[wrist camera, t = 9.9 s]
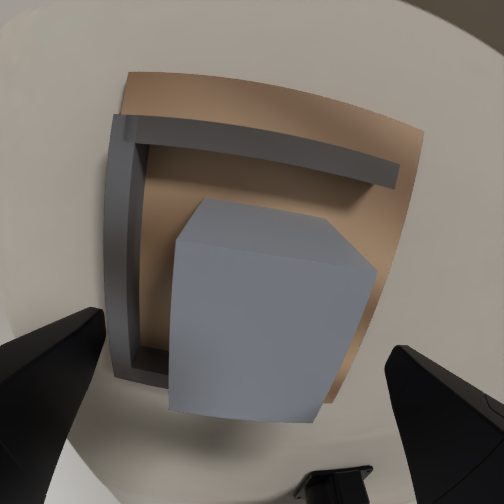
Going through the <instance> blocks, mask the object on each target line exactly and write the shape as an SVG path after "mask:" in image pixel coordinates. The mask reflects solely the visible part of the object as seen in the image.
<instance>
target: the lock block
mask: <svg viewBox="0 0 504 504" xmlns="http://www.w3.org/2000/svg"><path fill="white" fill-rule="evenodd" d="M377 274H378V271H377V270H376V269H375V268H374V267H373V266H372V265H371V264H370V263H369V262H368V261H367V260H366V259H365V258H364V257H363V256H362V255H361V254H360V253H359V251H358V250H357V249H356V248H355V247H354V246H353V245H352V244H351V243H350V242H349V241H348V240H346V239H345V238H344V237H343V236H342V235H341V234H340V233H339V232H338V231H337V230H336V229H335V228H334V227H333V226H332V225H331V224H330V223H329V222H328V221H327V220H326V219H325V218H322V217H317V216H312V215H307V214H301V213H296V212H290V211H285V210H279V209H274V208H268V207H262V206H257V205H251V204H245V203H239V202H232V201H226V200H220V199H213V198H207V197H204V199H203V200H202V202H201V203H200V205H199V206H198V208H197V209H196V211H195V212H194V214H193V215H192V217H191V218H190V220H189V221H188V223H187V224H186V226H185V227H184V229H183V230H182V232H181V233H180V235H179V236H178V238H177V239H176V246H175V257H174V269H173V282H172V297H171V315H170V339H169V410H173V411H178V412H184V413H190V414H197V415H204V416H211V417H219V418H228V419H238V420H249V421H263V422H284V423H313V421H314V419H315V417H316V415H317V414H318V412H319V410H320V408H321V406H322V404H323V402H324V400H325V398H326V396H327V394H328V392H329V390H330V388H331V386H332V384H333V382H334V380H335V378H336V375H337V373H338V371H339V369H340V367H341V365H342V362H343V360H344V358H345V356H346V353H347V351H348V349H349V346H350V344H351V342H352V339H353V337H354V335H355V332H356V330H357V327H358V325H359V322H360V320H361V317H362V315H363V312H364V310H365V307H366V304H367V302H368V299H369V296H370V293H371V291H372V288H373V285H374V282H375V279H376V276H377Z"/></svg>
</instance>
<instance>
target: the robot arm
mask: <svg viewBox="0 0 504 504" xmlns="http://www.w3.org/2000/svg"><path fill="white" fill-rule="evenodd" d="M105 338H106V327H105V317H104V312H103V310H102V309H99V308H95V307H88V308H86V309H84V310H81V311H79V312H76V313H74V314H72V315H69V316H67V317H65V318H62V319H60V320H58V321H55V322H53V323H51V324H48V325H46V326H44V327H42V328H39V329H37V330H35V331H32V332H30V333H28V334H25V335H23V336H21V337H19V338H16V339H14V340H12V341H9V342H7V343H5V344H3V345H1V346H0V504H44V501H45V498H46V495H45V494H47V491H48V488H49V485H50V482H51V479H52V476H53V473H54V470H55V468H56V465H57V462H58V459H59V456H60V454H61V451H62V449H63V446H64V443H65V441H66V438H67V436H68V433H69V431H70V428H71V426H72V424H73V421H74V419H75V416H76V414H77V412H78V409H79V407H80V405H81V402H82V400H83V398H84V396H85V393H86V391H87V389H88V387H89V384H90V382H91V380H92V377H93V374H94V371H95V368H96V365H97V362H98V359H99V356H100V353H101V350H102V347H103V344H104V342H105ZM384 370H385V376H386V380H387V385H388V390H389V395H390V400H391V404H392V409H393V412H394V416H395V419H396V423H397V426H398V429H399V433H400V436H401V440H402V444H403V447H404V451H405V455H406V459H407V462H408V466H409V470H410V474H411V479H412V483H413V487H414V492H415V496H416V501H417V504H504V404H502V403H500V402H499V401H497V400H495V399H494V398H492V397H490V396H489V395H487V394H485V393H483V392H482V391H481V390H479V389H477V388H476V387H474V386H472V385H471V384H469V383H468V382H466V381H464V380H463V379H461V378H459V377H458V376H456V375H455V374H453V373H451V372H450V371H448V370H446V369H445V368H443V367H442V366H440V365H438V364H437V363H435V362H433V361H432V360H430V359H429V358H427V357H425V356H424V355H422V354H420V353H419V352H417V351H416V350H414V349H412V348H411V347H409V346H407V345H396V346H395V347H394V348H393V350H392V352H391V354H390V356H389V358H388V360H387V362H386V364H385V368H384ZM372 471H373V467H372V466H366V467H359V468H351V469H342V470H333V471H320V472H314V473H311V474H310V476H309V477H308V478H307V479H306V481H305V482H304V483H303V485H302V486H301V487H300V488H299V489H298V491H297V492H296V493H295V494H294V499H306V503H307V504H370V501H369V498H368V494H367V491H366V488H365V484H364V481H363V480H364V479H365V478H366V477H367V476H368V475H369V474H370V473H371V472H372Z"/></svg>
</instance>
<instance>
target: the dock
mask: <svg viewBox="0 0 504 504" xmlns="http://www.w3.org/2000/svg"><path fill="white" fill-rule="evenodd" d="M423 136H424V131H422V130H420V129H417V128H415V127H413V126H410V125H408V124H405V123H403V122H400V121H397V120H395V119H392V118H389V117H387V116H384V115H381V114H378V113H375V112H372V111H369V110H366V109H363V108H360V107H357V106H354V105H351V104H347V103H344V102H340V101H337V100H333V99H330V98H326V97H322V96H318V95H314V94H310V93H306V92H302V91H298V90H293V89H289V88H284V87H279V86H274V85H269V84H263V83H258V82H252V81H245V80H239V79H231V78H224V77H215V76H206V75H195V74H182V73H164V72H129V73H128V77H127V82H126V87H125V93H124V98H123V103H122V109H121V114H114V115H113V121H112V128H111V135H110V143H109V152H108V162H107V173H106V186H105V204H104V282H105V300H106V313H107V324H108V334H109V342H110V350H111V358H112V365H113V371H114V377H117V378H121V379H125V380H129V381H133V382H137V383H142V384H146V385H151V386H156V387H161V388H166V389H169V339H170V315H171V297H172V282H173V269H174V257H175V246H176V239H177V238H178V236H179V235H180V233H181V232H182V230H183V229H184V227H185V226H186V224H187V223H188V221H189V220H190V218H191V217H192V215H193V214H194V212H195V211H196V209H197V208H198V206H199V205H200V203H201V202H202V200H203V199H204V197H207V198H213V199H220V200H226V201H232V202H239V203H245V204H251V205H257V206H262V207H268V208H274V209H279V210H285V211H290V212H296V213H301V214H307V215H312V216H317V217H322V218H325V219H326V220H327V221H328V222H329V223H330V224H331V225H332V226H333V227H334V228H335V229H336V230H337V231H338V232H339V233H340V234H341V235H342V236H343V237H344V238H345V239H346V240H348V241H349V242H350V243H351V244H352V245H353V246H354V247H355V248H356V249H357V250H358V251H359V253H360V254H361V255H362V256H363V257H364V258H365V259H366V260H367V261H368V262H369V263H370V264H371V265H372V266H373V267H374V268H375V269H376V270H377V271H378V274H377V276H376V279H375V282H374V285H373V288H372V291H371V293H370V296H369V299H368V302H367V304H366V307H365V310H364V312H363V315H362V317H361V320H360V322H359V325H358V327H357V330H356V332H355V335H354V337H353V339H352V342H351V344H350V346H349V349H348V351H347V353H346V356H345V358H344V360H343V362H342V365H341V367H340V369H339V371H338V373H337V375H336V378H335V380H334V382H333V384H332V386H331V388H330V390H329V392H328V394H327V396H326V398H325V400H324V402H323V403H333V401H334V399H335V397H336V395H337V393H338V391H339V389H340V387H341V385H342V383H343V381H344V379H345V377H346V375H347V373H348V371H349V369H350V367H351V365H352V363H353V360H354V358H355V356H356V354H357V352H358V349H359V347H360V345H361V343H362V340H363V338H364V336H365V333H366V331H367V328H368V326H369V324H370V321H371V319H372V316H373V314H374V311H375V309H376V306H377V303H378V301H379V298H380V295H381V293H382V290H383V287H384V284H385V282H386V279H387V276H388V273H389V270H390V267H391V264H392V261H393V258H394V255H395V252H396V249H397V245H398V242H399V239H400V235H401V232H402V228H403V225H404V221H405V218H406V214H407V210H408V206H409V203H410V199H411V194H412V190H413V186H414V182H415V177H416V173H417V168H418V163H419V158H420V153H421V148H422V142H423Z"/></svg>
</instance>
